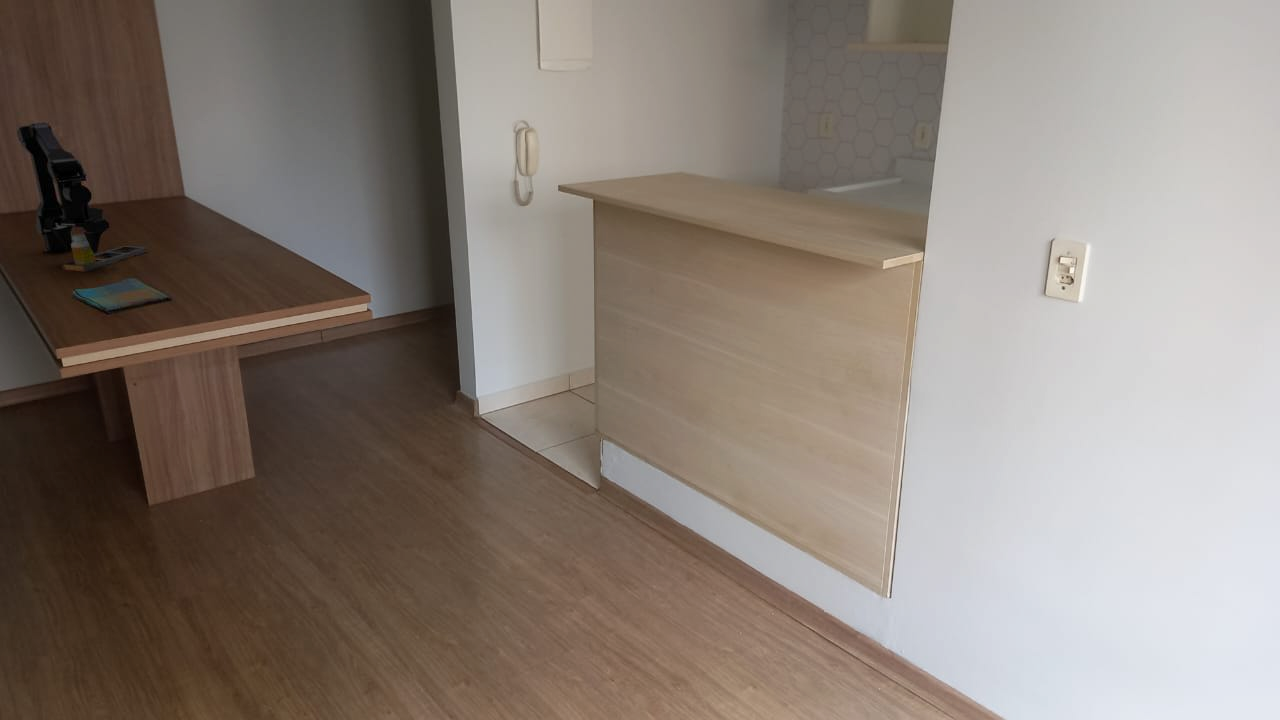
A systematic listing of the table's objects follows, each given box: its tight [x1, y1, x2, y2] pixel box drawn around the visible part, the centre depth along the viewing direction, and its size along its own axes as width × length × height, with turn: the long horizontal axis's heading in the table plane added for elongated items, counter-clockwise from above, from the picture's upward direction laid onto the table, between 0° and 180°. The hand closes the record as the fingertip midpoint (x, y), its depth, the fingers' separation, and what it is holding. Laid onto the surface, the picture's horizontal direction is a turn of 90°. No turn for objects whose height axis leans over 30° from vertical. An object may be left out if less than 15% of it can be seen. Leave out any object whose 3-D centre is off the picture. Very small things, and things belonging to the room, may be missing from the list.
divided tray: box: [61, 245, 149, 273], centre depth 281 cm, size 9×24×2 cm, turn 164°
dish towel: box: [71, 278, 173, 314], centre depth 245 cm, size 17×23×2 cm
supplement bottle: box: [71, 232, 96, 266], centre depth 272 cm, size 5×5×10 cm
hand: (83, 251), depth 272 cm, fingers open, 9 cm apart
